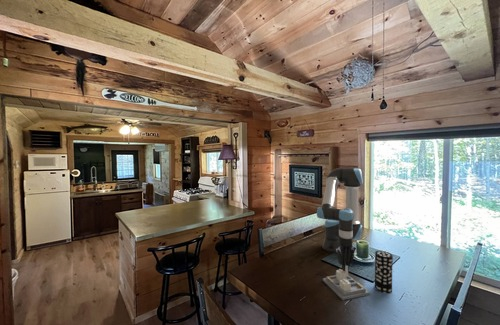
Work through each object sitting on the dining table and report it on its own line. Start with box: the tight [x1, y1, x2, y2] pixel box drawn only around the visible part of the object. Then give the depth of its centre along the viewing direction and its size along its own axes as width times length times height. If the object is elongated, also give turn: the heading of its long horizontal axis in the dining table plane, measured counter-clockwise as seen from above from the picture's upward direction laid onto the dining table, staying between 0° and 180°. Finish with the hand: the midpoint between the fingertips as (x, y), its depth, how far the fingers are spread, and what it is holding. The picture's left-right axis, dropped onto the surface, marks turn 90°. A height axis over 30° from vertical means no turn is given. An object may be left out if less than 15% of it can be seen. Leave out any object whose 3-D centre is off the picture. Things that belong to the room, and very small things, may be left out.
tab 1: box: [335, 268, 347, 281], centre depth 129 cm, size 4×4×6 cm
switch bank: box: [322, 274, 371, 301], centre depth 124 cm, size 17×18×3 cm
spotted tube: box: [374, 250, 394, 294], centre depth 122 cm, size 8×8×20 cm
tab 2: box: [340, 279, 351, 292], centre depth 119 cm, size 4×4×6 cm
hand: (345, 275), depth 129 cm, fingers closed
